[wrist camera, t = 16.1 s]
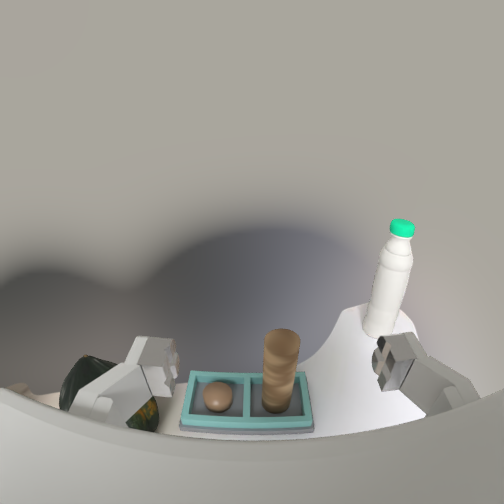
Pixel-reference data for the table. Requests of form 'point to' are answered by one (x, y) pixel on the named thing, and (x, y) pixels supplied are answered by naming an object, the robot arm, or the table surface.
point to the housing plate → (242, 406)
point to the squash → (91, 370)
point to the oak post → (279, 369)
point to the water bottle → (390, 280)
